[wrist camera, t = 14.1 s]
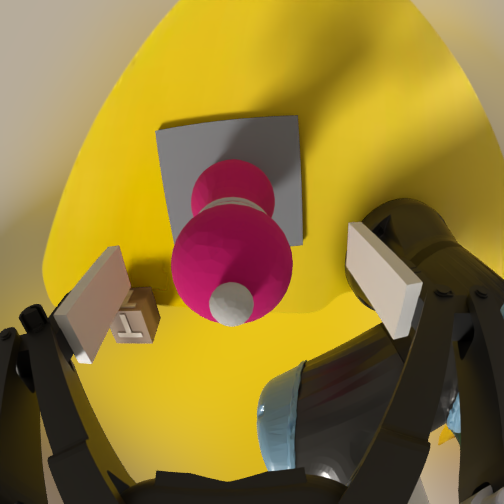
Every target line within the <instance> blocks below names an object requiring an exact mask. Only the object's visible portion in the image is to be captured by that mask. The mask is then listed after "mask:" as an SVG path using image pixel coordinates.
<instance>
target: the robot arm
mask: <svg viewBox="0 0 504 504" xmlns="http://www.w3.org/2000/svg"><path fill="white" fill-rule="evenodd" d="M345 272H346V277H347V280H348V283H349V285H350V287H351V288H352V290H353V292H354V293H355V295H356V297H357V298H358V299H359V300H360V301H361V302H362V303H363V304H364V305H365V306H367V307H368V308H370V309H372V310H374V311H376V312H377V314H378V315H379V317H380V319H381V320H382V323H380V324H378V325H376V326H375V327H373V328H371V329H369V330H368V331H366V332H364V333H362V334H361V335H359V336H357V337H355V338H353V339H351V340H350V341H348V342H346V343H344V344H342V345H340V346H338V347H336V348H334V349H332V350H330V351H328V352H326V353H324V354H322V355H320V356H318V357H316V358H314V359H312V360H310V361H307V360H305V361H302V362H301V363H300V364H299V365H298V366H297V367H295V368H293V369H291V370H289V371H287V372H285V373H283V374H281V375H279V376H277V377H275V378H273V379H272V380H271V381H269V382H268V383H267V385H266V386H265V387H264V389H263V391H262V393H261V395H260V399H259V402H258V409H257V432H258V440H259V445H260V449H261V453H262V457H263V460H264V462H265V465H266V467H267V469H268V471H267V472H264V473H261V474H257V475H254V476H250V477H247V478H243V479H239V480H235V481H231V482H225V481H219V480H216V479H211V478H206V477H202V476H199V475H195V474H191V473H178V472H166V471H156V478H155V479H150V480H146V481H142V482H140V483H135V481H134V480H133V479H132V478H131V477H130V476H129V474H128V473H127V471H126V469H125V468H124V466H123V465H122V463H121V461H120V460H119V458H118V457H117V455H116V453H115V451H114V450H113V448H112V446H111V444H110V442H109V441H108V439H107V437H106V435H105V433H104V431H103V429H102V428H101V426H100V423H99V422H98V419H97V417H96V415H95V413H94V411H93V409H92V407H91V405H90V403H89V400H88V398H87V396H86V394H85V391H84V389H83V387H82V384H81V382H80V379H79V377H78V374H77V371H76V369H75V366H74V364H73V362H72V361H71V357H72V356H73V354H74V355H75V357H76V358H77V360H78V362H79V363H88V364H92V363H93V361H94V358H95V356H96V354H97V352H98V350H99V348H100V346H101V344H102V342H103V340H104V338H105V336H106V334H107V332H108V329H109V328H110V326H111V324H112V322H113V320H114V318H115V316H116V314H117V312H118V310H119V308H120V306H121V304H122V302H123V301H124V299H125V297H126V295H127V293H128V291H129V289H130V288H131V284H130V281H129V277H128V274H127V271H126V268H125V264H124V261H123V258H122V254H121V251H120V247H119V246H112V247H108V248H107V249H106V250H105V251H104V252H103V253H102V255H101V256H100V257H99V258H98V259H97V260H96V261H95V263H94V264H93V265H92V266H91V267H90V269H89V270H88V271H87V272H86V273H85V275H84V276H83V277H82V278H81V280H80V281H79V282H78V283H77V284H76V286H75V287H74V288H73V289H72V290H71V291H70V292H69V293H67V294H66V295H65V296H64V298H63V299H62V300H61V302H60V303H59V304H58V307H56V308H55V310H54V311H53V312H52V313H51V315H50V316H49V318H47V316H46V313H45V311H44V310H43V307H42V306H41V305H40V304H34V305H31V306H30V307H27V308H26V309H25V310H24V311H22V312H21V314H20V316H19V319H20V321H21V323H22V325H23V327H24V329H25V331H26V332H27V334H23V335H19V334H18V332H17V330H16V329H15V328H14V327H11V328H7V329H4V330H3V331H1V333H0V504H48V500H47V494H46V487H45V480H44V473H43V464H42V453H41V435H40V412H41V416H42V419H43V423H44V427H45V430H46V434H47V437H48V440H49V443H50V446H51V449H52V452H53V455H52V456H50V457H49V458H48V464H49V468H50V471H51V473H52V476H53V478H54V481H55V483H56V486H57V488H58V491H59V493H60V495H61V498H62V500H63V502H64V504H429V501H428V498H427V495H426V493H425V490H424V487H423V484H422V481H421V479H420V474H421V472H422V470H423V467H424V464H425V462H426V459H427V456H428V454H429V450H430V443H429V442H428V438H429V434H430V432H432V431H434V430H435V429H437V428H439V427H440V426H442V425H444V424H445V423H447V426H448V428H449V429H451V430H453V431H454V432H455V433H461V447H460V471H459V488H458V492H459V504H504V279H502V278H501V277H500V276H499V275H498V274H496V273H495V272H494V271H493V270H492V269H490V268H489V267H488V266H487V265H485V264H484V263H483V262H482V261H480V260H479V259H478V258H477V257H475V256H474V255H473V254H471V253H470V252H469V251H467V250H466V249H465V248H463V247H462V246H461V245H459V244H458V243H457V241H456V239H455V238H454V236H453V235H452V233H451V232H450V230H449V229H448V227H447V225H446V224H445V222H444V220H443V218H442V217H441V216H440V215H439V214H438V213H437V212H436V211H435V210H434V209H432V208H431V207H429V206H427V205H426V204H424V203H422V202H420V201H418V200H414V199H408V198H403V199H396V200H392V201H389V202H387V203H385V204H383V205H381V206H379V207H378V208H376V209H375V210H373V211H372V212H371V213H370V214H369V215H368V216H367V217H366V218H365V219H364V220H363V221H362V222H351V223H349V226H348V245H347V252H346V258H345Z"/></svg>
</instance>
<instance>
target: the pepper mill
mask: <svg viewBox="0 0 504 504" xmlns="http://www.w3.org/2000/svg"><path fill="white" fill-rule="evenodd" d="M274 207H275V196H274V191H273V187H272V185H271V182H270V181H269V179H268V177H267V176H266V175H265V173H264V172H263V171H262V170H260V169H259V168H258V167H256V166H255V165H253V164H251V163H249V162H246V161H242V160H237V159H230V160H224V161H221V162H217V163H215V164H213V165H211V166H210V167H208V168H207V169H206V170H205V171H203V173H202V174H201V175H200V176H199V177H198V179H197V181H196V182H195V185H194V188H193V191H192V196H191V209H192V214H193V218H192V219H191V220H190V221H189V222H188V223H187V224H186V225H185V226H184V228H183V229H182V231H181V232H180V234H179V236H178V237H177V239H176V242H175V245H174V248H173V253H172V260H171V270H172V276H173V282H174V284H175V287H176V289H177V291H178V294H179V295H180V297H181V298H182V300H183V301H184V303H185V304H186V305H187V306H188V307H189V308H191V309H192V310H193V311H194V312H196V313H198V314H199V315H200V316H202V317H204V318H206V319H208V320H210V321H214V322H218V323H221V324H223V325H225V326H238V325H241V324H243V323H247V322H251V321H254V320H256V319H259V318H261V317H263V316H264V315H266V314H267V313H269V312H270V311H272V310H273V309H274V308H275V307H276V306H277V305H278V304H279V302H280V301H281V300H282V298H283V297H284V295H285V293H286V291H287V289H288V286H289V284H290V280H291V276H292V267H293V260H292V252H291V248H290V245H289V243H288V241H287V238H286V236H285V234H284V232H283V231H282V229H281V228H280V227H279V226H278V224H277V223H276V222H275V221H274V220H273V219H272V215H273V213H274Z"/></svg>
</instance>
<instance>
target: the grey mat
mask: <svg viewBox="0 0 504 504" xmlns="http://www.w3.org/2000/svg"><path fill="white" fill-rule="evenodd" d="M155 132H156V140H157V147H158V154H159V161H160V167H161V174H162V180H163V186H164V192H165V198H166V203H167V209H168V214H169V219H170V224H171V230H172V235H173V239H174V244H175V242H176V239H177V237H178V236H179V234H180V232H181V231H182V229H183V228H184V226H185V225H186V224H187V223H188V222H189V221H190V220H191V219H192V218H193V214H192V209H191V196H192V191H193V188H194V185H195V182H196V181H197V179H198V177H199V176H200V175H201V174H202V173H203V171H205V170H206V169H207V168H208V167H210V166H211V165H213V164H215V163H217V162H221V161H224V160H230V159H237V160H242V161H246V162H249V163H251V164H253V165H255V166H256V167H258V168H259V169H260V170H262V171H263V172H264V173H265V175H266V176H267V177H268V179H269V181H270V182H271V185H272V187H273V191H274V196H275V207H274V213H273V215H272V219H273V220H274V221H275V222H276V223H277V224H278V226H279V227H280V228H281V229H282V231H283V232H284V234H285V236H286V238H287V241H288V243H289V245H290V246H298V245H303V229H302V189H301V164H300V144H299V127H298V115H295V116H271V117H256V118H244V119H233V120H224V121H215V122H207V123H200V124H193V125H186V126H180V127H174V128H168V129H163V130H158V131H155Z"/></svg>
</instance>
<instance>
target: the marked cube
mask: <svg viewBox="0 0 504 504" xmlns="http://www.w3.org/2000/svg"><path fill="white" fill-rule="evenodd" d="M160 318H161V317H160V314H159V311H158V308H157V305H156V302H155V298H154V295H153V292H152V288H151V287H138V288H130V289H129V291H128V293H127V295H126V297H125V299H124V301H123V302H122V304H121V306H120V308H119V310H118V312H117V314H116V316H115V318H114V320H113V322H112V324H111V326H110V329H111V331H112V334H113V336H114V338H115V340H116V342H117V343H153V341H154V337H155V334H156V331H157V328H158V324H159V321H160Z"/></svg>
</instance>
